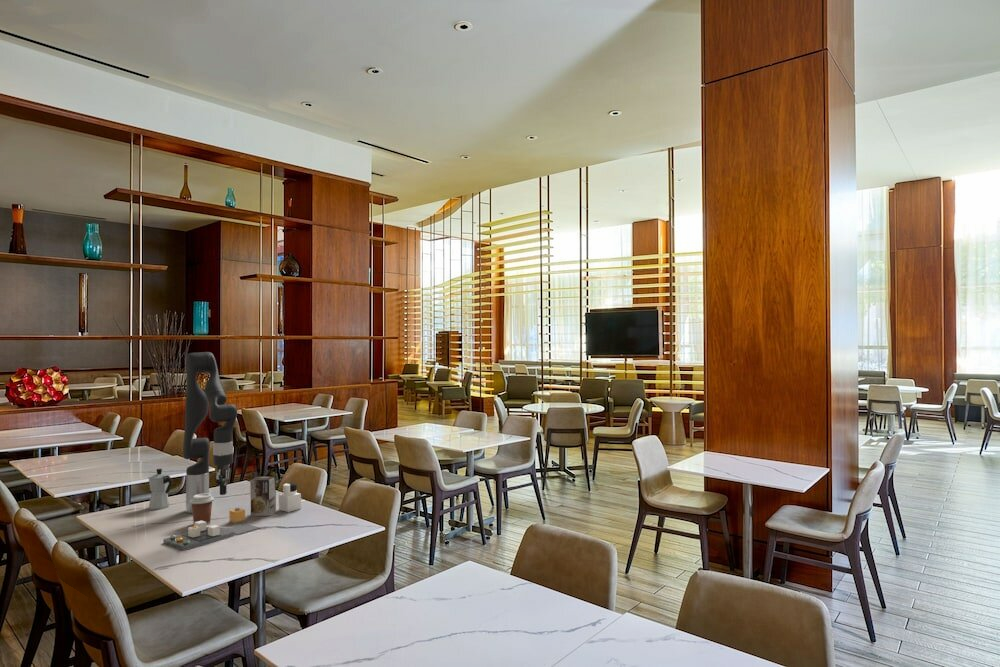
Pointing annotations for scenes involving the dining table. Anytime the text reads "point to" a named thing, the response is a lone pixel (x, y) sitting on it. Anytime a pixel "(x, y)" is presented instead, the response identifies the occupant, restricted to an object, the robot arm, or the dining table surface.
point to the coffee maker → (159, 490)
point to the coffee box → (263, 496)
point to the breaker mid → (194, 531)
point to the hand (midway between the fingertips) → (223, 494)
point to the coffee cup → (202, 507)
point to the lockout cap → (237, 515)
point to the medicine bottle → (289, 498)
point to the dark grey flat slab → (196, 539)
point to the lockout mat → (243, 529)
